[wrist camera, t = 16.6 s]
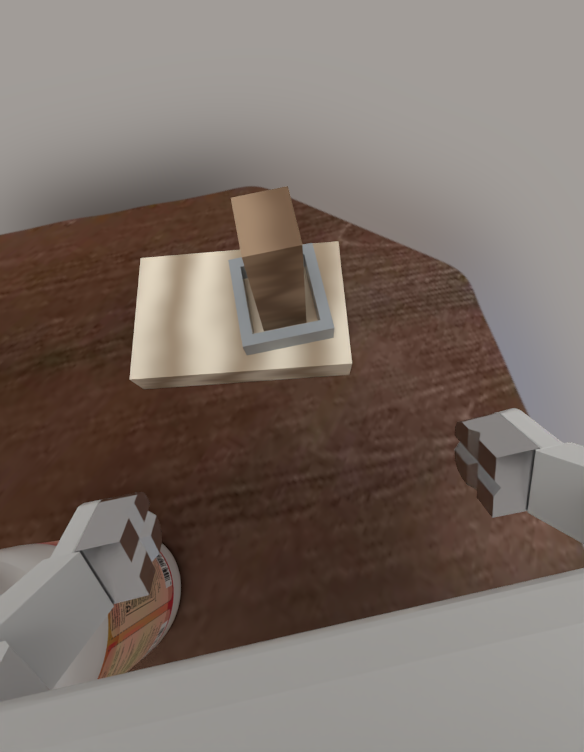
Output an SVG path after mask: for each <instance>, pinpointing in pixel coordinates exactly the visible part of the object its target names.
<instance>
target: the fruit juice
mask: <svg viewBox="0 0 584 752" xmlns="http://www.w3.org/2000/svg"><path fill="white" fill-rule="evenodd" d="M58 542H59V541H53V542H45V543H37V544H27V545H20V546H14V547H9V548H5V549H0V596H1V595H2V594H3V593H5V592H6V591H7V590H8V589H9V588H10V587H12V586H13V585H14V584H15V583H16V582H18V581H19V580H20V579H21V578H22V577H23V576H25V575H26V574H27V573H28V572H29V571H30V570H32V569H33V568H34V567H35V566H36V565H38V564H39V563H40V562H41V561H42V560H44V559H48V558H50V557H51V555H52V553H53V551H54V550H55V548H56V546H57V544H58ZM152 563H153V565H154V567H155V569H156V570H155V574H154V578H153V582H152V586H151V590H150V594H149V595H147V596H143V597H140V598H136V599H132V600H128V601H124V602H120V603H116V604H113V605H114V607H113V608H112V609H111V611H110V612H109V614H108V615H107V616H106V618H105V619H104V620H103V622H102V623H101V624H100V626H99V627H98V628H97V630H96V631H95V632H94V634H93V635H92V636H91V638H90V639H89V640H88V642H87V643H86V645H85V646H84V647H83V649H82V650H81V651H80V653H79V654H78V655H77V657H76V658H75V659H74V661H73V662H72V663H71V665H70V666H69V667H68V669H67V670H66V671H65V673H64V674H63V676H62V677H61V678H60V680H59V681H58V682H57V684H56V685H55V686H54V688H53V689H58V688H62V687H66V686H71V685H75V684H79V683H84V682H88V681H93V680H97V679H101V678H106V677H110V676H114V675H119V674H123V673H127V672H128V671H129V670H130V669H131V668H132V667H133V666H135V665H136V664H137V663H138V662H139V661H140V660H141V659H143V658H144V657H145V656H146V655H147V654H148V653H149V652H150V651H152V650H153V649H154V648H155V647H156V646H157V645H158V644H159V642H160V641H161V640H162V639H163V637H164V636H165V634H166V633H167V632H168V630H169V628H170V627H171V625H172V623H173V621H174V619H175V616H176V613H177V610H178V607H179V602H180V596H181V579H180V573H179V569H178V566H177V563H176V561H175V559H174V557H173V555H172V554H171V552H170V551H169V550H168V549H167V547H166V546H165V545H164V544H162V545H161V549H160V554H159V555H158V556H157V557H156V558H155V559H154V561H153V562H152ZM53 689H52V690H53Z"/></svg>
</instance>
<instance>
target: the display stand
mask: <svg viewBox="0 0 584 752" xmlns="http://www.w3.org/2000/svg"><path fill="white" fill-rule="evenodd" d="M302 245H304V244H302ZM313 247H314V251H315V255H316V259H317V263H318V267H319V270H320V274H321V278H322V282H323V286H324V290H325V293H326V297H327V301H328V305H329V309H330V313H331V316H332V320H333V324H334V337H333V338H330V339H325V340H320V341H315V342H310V343H306V344H301V345H296V346H291V347H286V348H281V349H276V350H272V351H267V352H262V353H257V354H252V355H246V353H245V351H244V349H243V346H242V340H241V334H240V328H239V322H238V316H237V310H236V304H235V298H234V292H233V286H232V280H231V274H230V268H229V262H228V260H231V259H235V258H240V257H242V256H241V250H232V251H220V252H208V253H196V254H185V255H173V256H161V257H149V258H141V260H140V271H139V282H138V293H137V304H136V315H135V326H134V337H133V348H132V359H131V370H130V380H131V381H132V382H134V383H135V384H137V385H138V386H140V387H141V388H143V389H155V388H169V387H183V386H197V385H211V384H225V383H239V382H253V381H267V380H281V379H295V378H309V377H323V376H337V375H349V374H350V370H351V366H352V357H351V349H350V340H349V331H348V322H347V314H346V305H345V296H344V288H343V279H342V270H341V261H340V253H339V244H338V241H337V242H326V243H314V244H313ZM244 280H245V286H246V292H247V297H248V303H249V308H250V314H251V319H252V325H253V330H254V334H255V333H260V332H265V331H264V330H263V327H262V323H261V320H260V317H259V313H258V310H257V307H256V303H255V300H254V297H253V293H252V290H251V287H250V283H249V280H248V278H247V279H244ZM304 285H305V304H306V323H308V322H313V321H318V319H317V315H316V311H315V307H314V303H313V299H312V295H311V291H310V287H309V282H308V278H307V274H306V270H305V267H304ZM303 324H304V323H303ZM298 325H299V324H298ZM293 326H294V325H293ZM288 327H289V326H288Z"/></svg>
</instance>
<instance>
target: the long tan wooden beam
mask: <svg viewBox="0 0 584 752" xmlns="http://www.w3.org/2000/svg"><path fill="white" fill-rule="evenodd" d="M231 201H232V207H233V212H234V218H235V223H236V229H237V234H238V240H239V245H240V250H241V256H242V260H243V263H244V267H245V270H246V273H247V277H248V280H249V283H250V287H251V290H252V293H253V297H254V300H255V303H256V307H257V310H258V313H259V317H260V320H261V323H262V327H263V330H264V331H269V330H274V329H279V328H284V327H288V326H293V325H298V324H303V323H306V304H305V285H304V266H303V247H302V241H301V237H300V233H299V229H298V225H297V221H296V217H295V213H294V209H293V206H292V202H291V198H290V194H289V190H288V187H282V188H277V189H272V190H267V191H262V192H257V193H252V194H247V195H242V196H238V197H233V198H231Z"/></svg>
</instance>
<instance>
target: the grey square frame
mask: <svg viewBox="0 0 584 752" xmlns="http://www.w3.org/2000/svg"><path fill="white" fill-rule="evenodd" d="M302 247H303V266H304V267H305V270H306V274H307V278H308V282H309V287H310V291H311V295H312V299H313V303H314V307H315V311H316V315H317V319H318V321H313V322H308V323H304V324H299V325H294V326H289V327H284V328H279V329H274V330H269V331H265V332H260V333H255V334H254V330H253V325H252V319H251V314H250V308H249V303H248V297H247V292H246V286H245V280H244V279H247V278H248V277H247V273H246V270H245V267H244V263H243V260H242V257H240V258H235V259H231V260H228V262H229V268H230V274H231V280H232V286H233V292H234V298H235V304H236V310H237V316H238V322H239V328H240V334H241V340H242V346H243V349H244V351H245V353H246V355H252V354H257V353H262V352H267V351H272V350H276V349H281V348H286V347H291V346H296V345H301V344H306V343H310V342H315V341H320V340H325V339H330V338H333V337H334V324H333V320H332V316H331V313H330V309H329V305H328V301H327V297H326V293H325V290H324V286H323V282H322V278H321V274H320V270H319V267H318V263H317V259H316V255H315V251H314V247H313V244H312V243H309V244H304V245H302Z"/></svg>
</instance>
